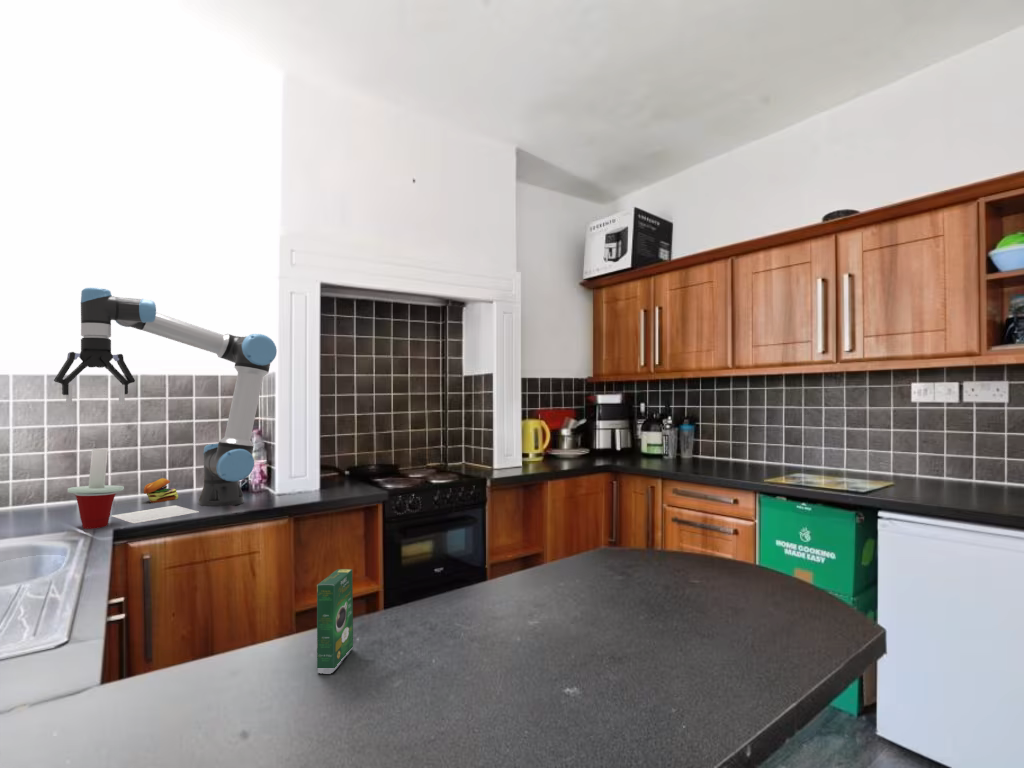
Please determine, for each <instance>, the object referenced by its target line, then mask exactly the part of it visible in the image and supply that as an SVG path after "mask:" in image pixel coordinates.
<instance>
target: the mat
mask: <svg viewBox="0 0 1024 768" xmlns="http://www.w3.org/2000/svg"><path fill="white" fill-rule="evenodd" d="M196 513H200V511H198V510H194V509H190V508H187V507H182V506H179V505H176V504H175V505H168V506H162V507H156V508H151V509H145V510H144V509H143V510H138V511H132V512H125V513H119V514H113V515H111V517H113V518H115V519H117V520H118V519H119V520H122V521H125V522H126V523H130V524H138V523H144V522H151V521H155V520H162V519H168V518H173V517H179V516H185V515H191V514H196Z"/></svg>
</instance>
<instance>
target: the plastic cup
mask: <svg viewBox="0 0 1024 768" xmlns="http://www.w3.org/2000/svg"><path fill="white" fill-rule="evenodd" d="M117 493H118V492H109V493H90V494H78V493H73V495H74V496H75V498H76V504H77V506H78V512H79V516H80V521H81V524H82V525H81V526H82V529H83V530H90V529H91V530H94V529H99V528H104V527H107V526H108V525H109V519H110V517H111V511H112V507H113V502H114V500H115V497H116V495H117Z"/></svg>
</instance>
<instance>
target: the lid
mask: <svg viewBox="0 0 1024 768" xmlns="http://www.w3.org/2000/svg"><path fill="white" fill-rule="evenodd" d="M108 450H109V449H108V448H92V449H91V456H90V458H91V459H90V467H89V468H90V469H89V478H88V485H83V486H82V485H80V486H73V487H68V488H67V491H66V492H67V493H68V494H74V493H78V494H90V493H109V492H117V493H118V492H123V491H124V490H125V487H124V485H113V484H111V485H110V484H109V485H108V484H107V485H106V473H107V464H108V463H107V461H108V453H109V452H108Z"/></svg>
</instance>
